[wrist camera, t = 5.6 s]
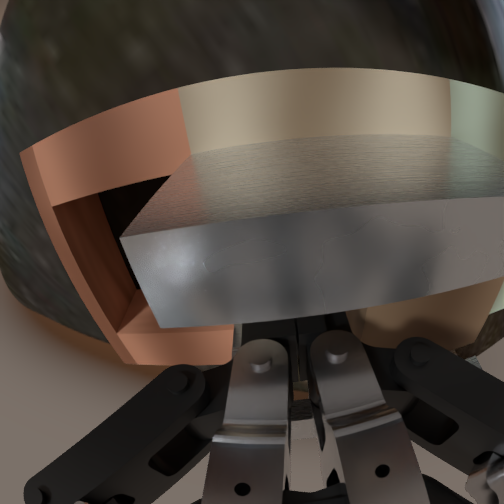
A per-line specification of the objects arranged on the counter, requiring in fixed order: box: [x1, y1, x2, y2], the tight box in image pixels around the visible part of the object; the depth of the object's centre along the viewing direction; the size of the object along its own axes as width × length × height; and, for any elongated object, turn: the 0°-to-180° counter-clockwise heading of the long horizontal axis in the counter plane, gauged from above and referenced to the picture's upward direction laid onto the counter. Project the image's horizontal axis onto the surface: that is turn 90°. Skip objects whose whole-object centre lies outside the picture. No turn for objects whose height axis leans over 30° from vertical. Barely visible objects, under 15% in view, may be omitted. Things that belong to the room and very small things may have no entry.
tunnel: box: [120, 134, 504, 440], centre depth 9 cm, size 10×9×6 cm
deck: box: [20, 68, 504, 365], centre depth 13 cm, size 28×14×4 cm, turn 98°
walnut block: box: [345, 276, 504, 351], centre depth 9 cm, size 6×6×4 cm
